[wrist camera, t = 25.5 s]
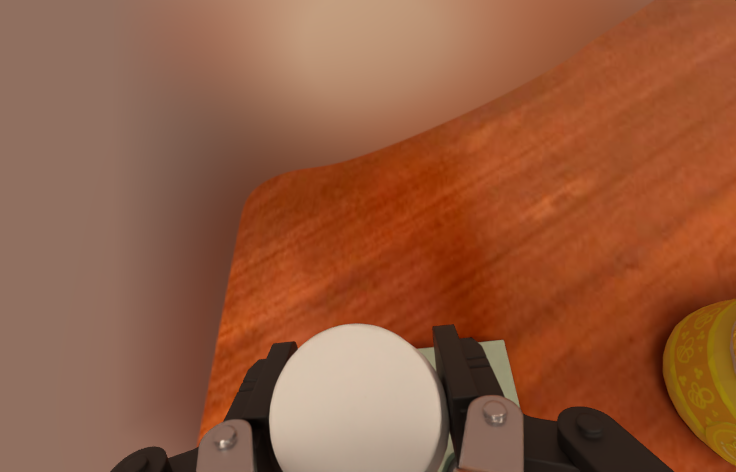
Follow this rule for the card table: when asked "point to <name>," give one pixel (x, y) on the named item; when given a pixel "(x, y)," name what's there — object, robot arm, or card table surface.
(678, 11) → the card table surface
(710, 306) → the mug
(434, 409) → the pill bottle
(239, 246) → the card table surface
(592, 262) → the card table surface
